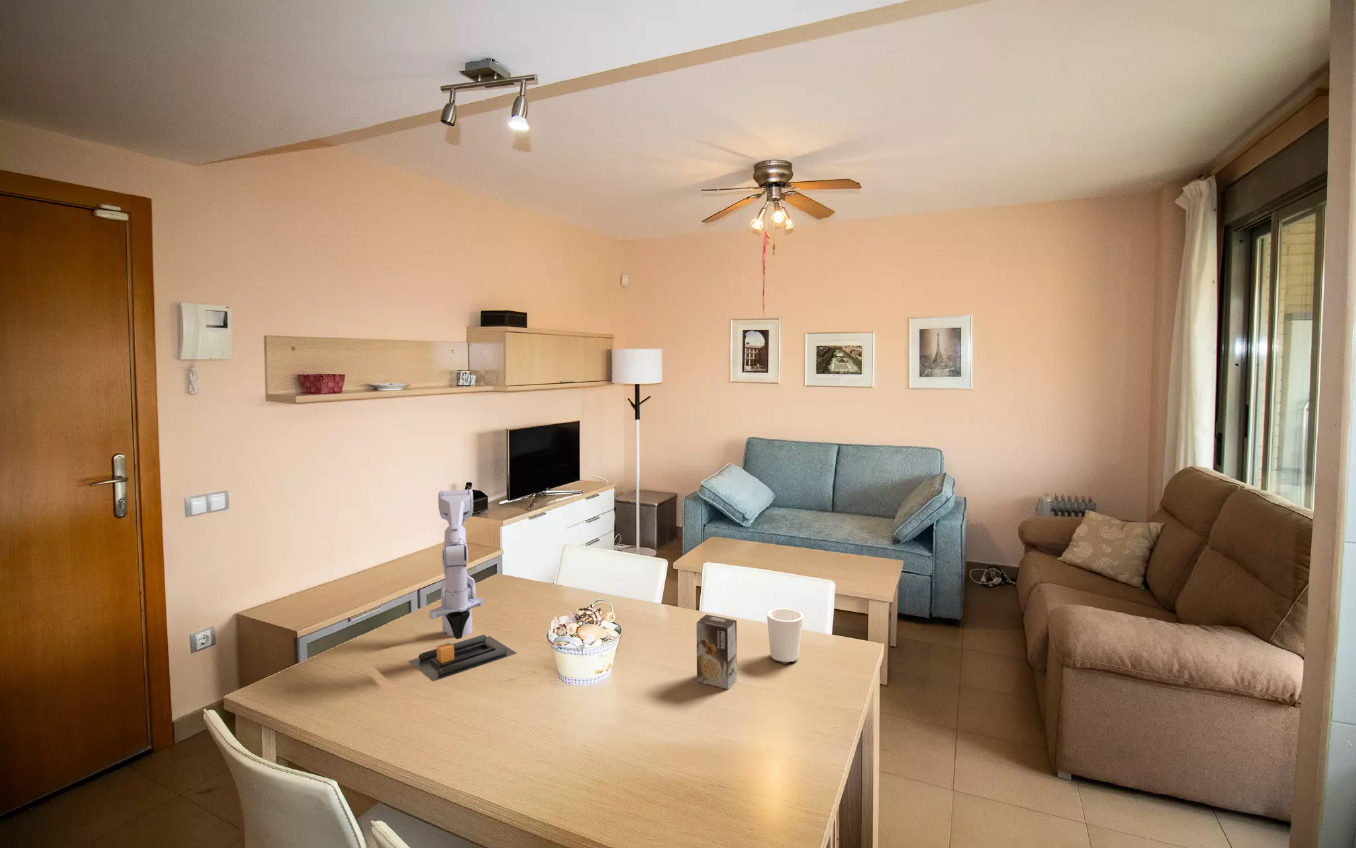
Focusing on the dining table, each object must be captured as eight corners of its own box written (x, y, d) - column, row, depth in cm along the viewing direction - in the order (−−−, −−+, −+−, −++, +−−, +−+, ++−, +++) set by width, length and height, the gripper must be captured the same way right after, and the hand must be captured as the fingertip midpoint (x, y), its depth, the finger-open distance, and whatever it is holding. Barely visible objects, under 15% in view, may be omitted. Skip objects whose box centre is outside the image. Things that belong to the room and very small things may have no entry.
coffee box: (737, 679, 176) (738, 620, 174) (728, 690, 170) (728, 628, 169) (706, 672, 180) (706, 613, 178) (695, 682, 174) (695, 622, 173)
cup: (801, 652, 192) (801, 608, 191) (803, 667, 182) (804, 622, 181) (765, 650, 193) (766, 607, 192) (766, 666, 183) (767, 620, 182)
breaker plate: (408, 666, 183) (408, 657, 183) (489, 641, 200) (489, 632, 200) (433, 687, 172) (432, 677, 172) (517, 658, 188) (517, 649, 188)
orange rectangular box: (437, 662, 182) (436, 646, 182) (449, 658, 184) (449, 642, 184) (441, 666, 180) (440, 649, 180) (454, 662, 182) (453, 645, 182)
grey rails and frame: (417, 659, 184) (417, 653, 184) (484, 639, 197) (484, 633, 197) (439, 677, 174) (438, 670, 174) (508, 654, 187) (508, 648, 187)
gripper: (436, 599, 175) (438, 650, 176) (488, 586, 185) (489, 634, 186) (425, 592, 180) (427, 641, 181) (475, 580, 190) (477, 627, 191)
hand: (457, 637), depth 184 cm, fingers closed
